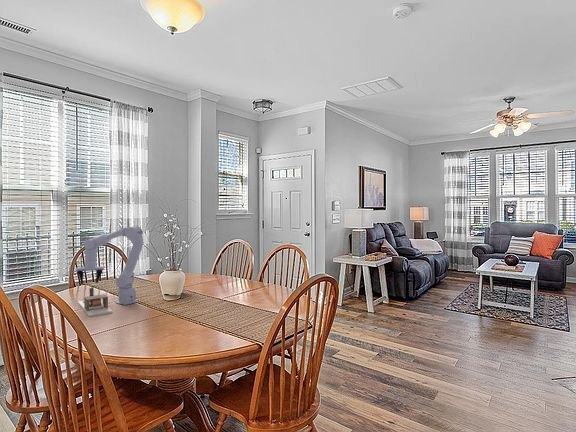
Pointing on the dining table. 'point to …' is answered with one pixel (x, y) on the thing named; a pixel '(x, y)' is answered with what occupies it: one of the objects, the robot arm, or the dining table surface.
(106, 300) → the tunnel deck
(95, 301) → the block
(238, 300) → the dining table surface
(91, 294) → the sled
